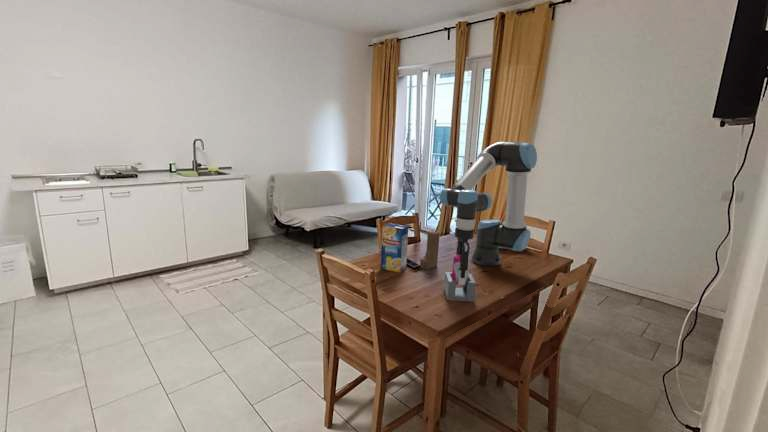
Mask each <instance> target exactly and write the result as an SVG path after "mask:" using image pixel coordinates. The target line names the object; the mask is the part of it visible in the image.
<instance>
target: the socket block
mask: <svg viewBox="0 0 768 432" xmlns="http://www.w3.org/2000/svg"><path fill="white" fill-rule="evenodd" d="M443 284H444V285H443V290H444V295H445V296H446V297H445V298H446V300H447V301H460V302H461V301H462V302H475V299H476V298H475V297H476V287H477V282H476V281H475V279H474V276H473V275H472V273H471V272H468V282H467V283H466V285H465V286H462V287H456V286H457V284H456V280H452V271H445V272H444V283H443Z"/></svg>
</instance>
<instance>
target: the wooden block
mask: <svg viewBox="0 0 768 432" xmlns="http://www.w3.org/2000/svg"><path fill="white" fill-rule="evenodd" d="M440 237H441V236H440V232H439V231H438V232H437V231H435V230H432V231H428V232H427V237H426V238H427V239H426V251H425V255H424V256H423V257H422V258H421V259H420V262H419V268H420V267H421V268H420V269H423V270H426V271H427V270H430V269H433V268H435V267H438V259H439V257H438V256H439V248H440V247H439V246H440Z"/></svg>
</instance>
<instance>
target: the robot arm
mask: <svg viewBox="0 0 768 432" xmlns="http://www.w3.org/2000/svg"><path fill="white" fill-rule="evenodd" d="M537 159H538V153H537V149H536V147H535V145H534V144H532V143H531V142H522V141H520V142H519V141H499V142H495V143H493V144H491V145H489V146H487V147H485V148H484V149H483V150H482V151H481V152H480V153H479V154H478V155H477V159H476V160H475V161H474V163H473V164H472V165H470V167H469V168H468V169H467V170H466V171H465V172H464V173H463V175H462V176H460V178H459V179H458V180H457V181H456V183H454V184H453V185H452V187H451V188H450V187H448V188H442V190H440V194H439V202H440V203H441V204H442V205H444V206H447V207H452V208H456V209H457V210H456V219H454V222H455V229H454V236H455V238H457V244H456V253H455V256H456V255H457V254H458V255H460V269H458V270H459V278H458V286H462V285H465V278H466V270H468V257H469V256H470V248H471V247H470V243H469V240H472V239H474V234H475V230H474V229H475V225H476V215H477V213H478V212H484V211H486V210H488V209H490V208H491V207H492V203H493V198H492V196H491V195H490V194H489V193H486V192H478V191H476V190H473V189H474V188H475V187H476V186H477V184H478V183H479V182H480V181H481V180H482V178H483V177H484V176H485V175H486V174H487V173H488V172H489V171H490V170H493V169H494V168H495V167H497V166H500V167H501V166H502V167H505V172H506V173H507V175H508V178H507V194H506V206H505V207H506V209H505V210H506V211H505V220H504V221H503V222H502V221H501V220H499V219H483V220H480V221H479V222H478V224H477V233H476V243H475V245H476V246H475V248H474V250H473V252H472V254H471V257H470V258H471V259H470V260H471V262H472V263H474V264H476V265H479V266H484V267H497V266H499V265H500V264H501V257H500V252H499V248H498V246H499V247H503V248H502V249H505V248H507V250H512V251H517V252H523V251H524V250H526V249H527V248H526V246H527V247H528V244H529V243H530V240H531V239H530V238H531V230H530V229H529V228H528V227H527V223H526V222H525V221H524V219H525V209H526V205H525V204H526V195H527V182H528V181H527V180H528V175H529V174H530V173H531V172H532V169H534V168H535V166H536V165H537V164H536V163H537V162H538V161H537ZM526 228H527V229H526ZM525 248H526V249H525Z"/></svg>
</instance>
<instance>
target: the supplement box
mask: <svg viewBox="0 0 768 432" xmlns="http://www.w3.org/2000/svg"><path fill="white" fill-rule="evenodd" d="M470 258H471V256H470V255H469V257H468V270H466V278H465V285H466V283H467V282H468V273H470V272H469V271H470V260H471V259H470ZM458 269H460V255H458V254H457V255H456V254H455V256H454V257H453V263H452V271H451V272H452V280H456V286H457V285H458V278H459V270H458ZM465 285H461V286H462V287H463V286H465ZM458 286H459V285H458Z"/></svg>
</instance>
